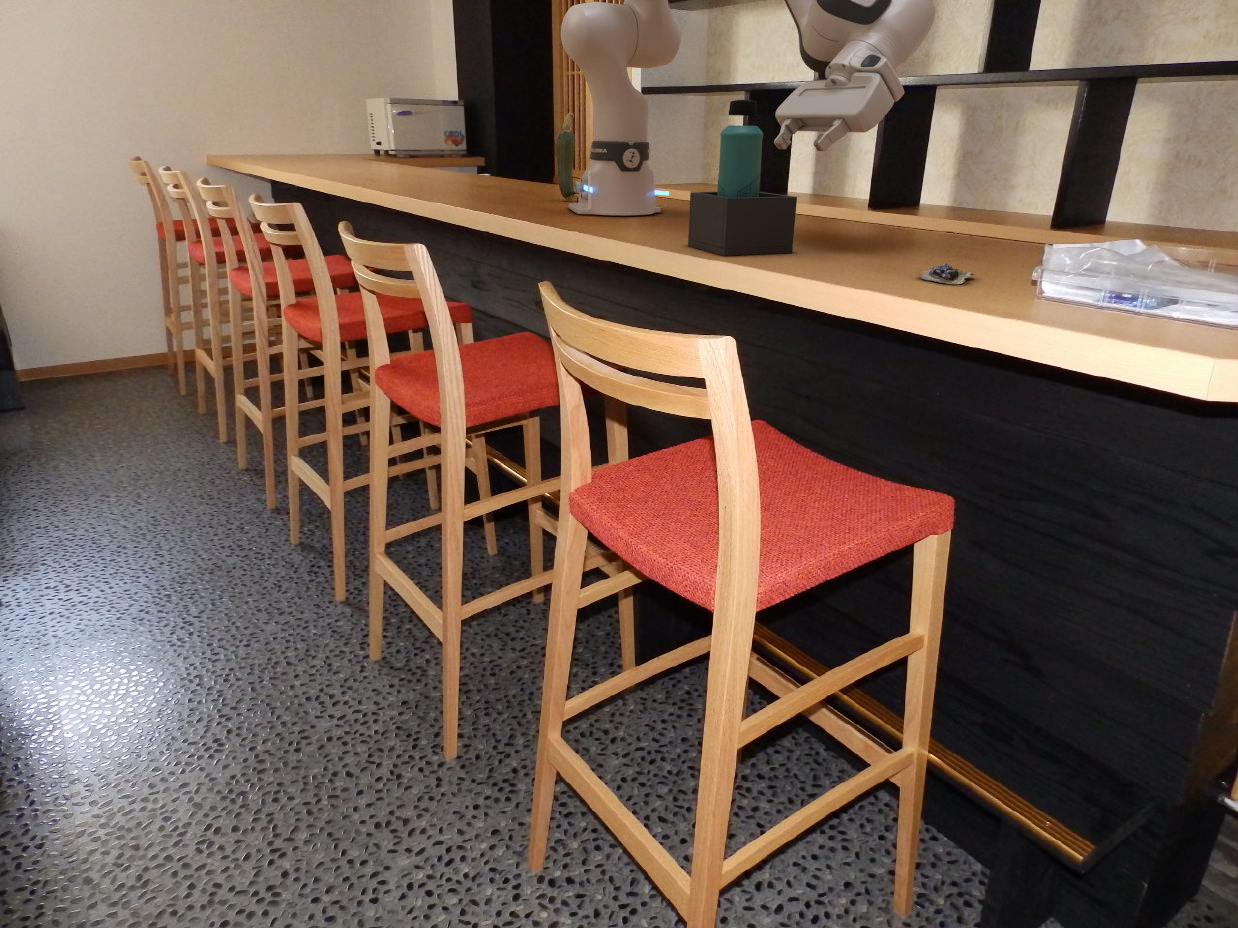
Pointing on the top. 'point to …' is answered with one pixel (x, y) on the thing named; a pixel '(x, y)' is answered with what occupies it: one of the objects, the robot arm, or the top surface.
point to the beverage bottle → (740, 155)
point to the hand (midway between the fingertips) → (798, 147)
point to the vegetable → (566, 158)
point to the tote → (742, 223)
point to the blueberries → (945, 274)
